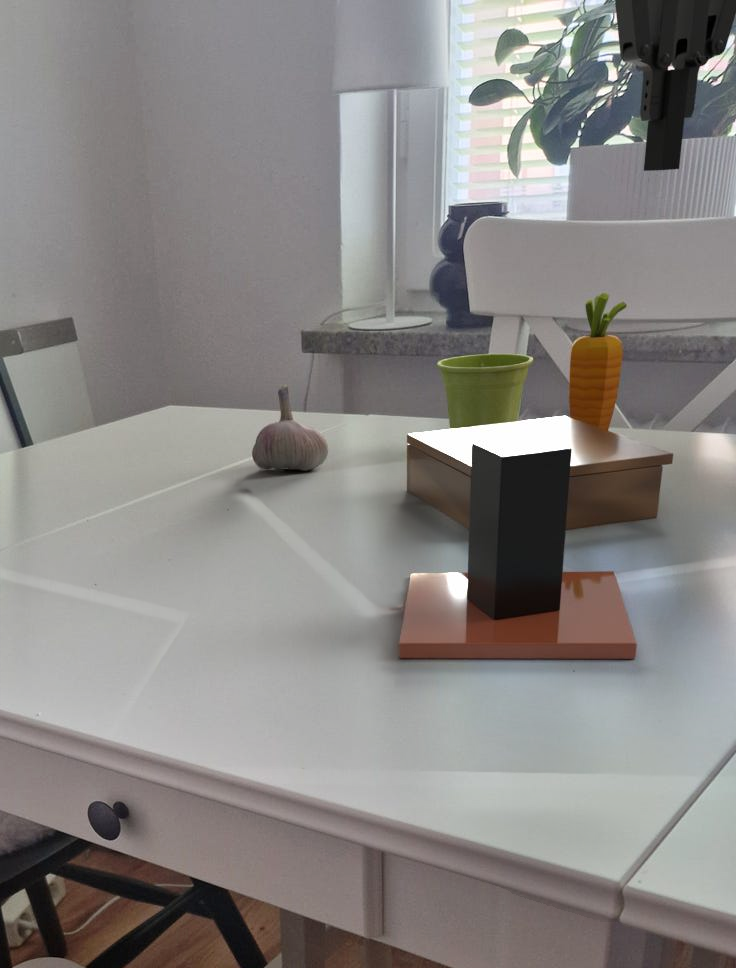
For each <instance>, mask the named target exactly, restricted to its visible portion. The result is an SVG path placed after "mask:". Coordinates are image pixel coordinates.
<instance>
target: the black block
mask: <svg viewBox="0 0 736 968" xmlns="http://www.w3.org/2000/svg"><path fill="white" fill-rule="evenodd" d="M571 452H572V449H571V448H568V447H566V446H563V445H561V444H558V443H556V442H553V441H551V440H548V439H546V438H543V437H541V436H538V435H537V436H529V437H521V438H512V439H504V440H495V441H487V442H479V443H472V455H471V487H470V518H469V529H468V548H467V549H468V550H467V551H468V553H467V557H468V558H467V573H468V581H467V600H469V601H470V602H471V603H473V604H474V605H475V606H477V607H478V608H479V609H481V610H482V611H483V612H485V613H486V614H487V615H489V616H490V617H491V618H493V619H494V620H499V619H506V618H512V617H519V616H526V615H532V614H539V613H546V612H553V611H559V610H560V600H561V587H562V574H563V572H564V561H565V560H564V559H565V558H564V557H565V545H566V534H567V533H566V532H567V530H566V520H567V506H568V493H569V479H570V466H571Z"/></svg>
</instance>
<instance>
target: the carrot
mask: <svg viewBox="0 0 736 968" xmlns="http://www.w3.org/2000/svg"><path fill="white" fill-rule="evenodd" d="M609 298H610V294H608V293H607V292H601V293H600V294H599V295H597V296H596V297H595V298H594V300H593V299H592V298H591V299H589V300H587V301H586V302H585V304H584V305H585V313H586V317H587V321H588V325H589V328H590V334H586V335H582V336H579V337H578V338H576V339H575V340H574V341H573V342H572V344H571V347H570V356H569V373H568V375H569V379H568V402H569V415H570V416H569V417H570V418H573V419H576V420H579V421H581V422H584V423H587V424H590V425H593V426H596V427H599V428H601V429H604V430H607V431H609V430H610V426H611V423H612V419H613V416H614V411H615V406H616V404H617V400H618V399H617V398H618V394H619V388H620V387H619V385H620V381H621V380H620V379H621V371H622V365H623V364H622V362H623V355H624V353H623V352H624V351H623V349H624V348H623V344H622V340H621V339H619V337H618V336H615V335H612V334H606V332H607V330H608V327H609V326H610V324H611V322H612V321H613V319H614V318H615V317H616V316H617V314H619V313H620V312H621V311H623V310H624V309H626V308H627V303H626V302H624V301H621V302H618V304H616V305H614V306H613V307H612V308H611V310H610V311H609V312H604V311H605V309H606V306H607V304H608V301H609Z"/></svg>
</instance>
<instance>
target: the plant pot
mask: <svg viewBox="0 0 736 968" xmlns="http://www.w3.org/2000/svg"><path fill="white" fill-rule="evenodd" d="M533 363H534V357H532V356H531V355H524V354H518V353H483V354H481V353H480V354H470V355H469V354H468V355H462V356H454V357H449V358H445V359H441V360H438V361H437V363H436V368H437V369H439V370H440V374H441V379H442V383H443V384H444V389H445V397H446V404H447V405H446V406H447V415H448V422H449V429H455V428H464V427H473V426H482V425H490V424H499V423H508V422H516V421H518V418H519V411H520V408H521V406H520V405H521V401H522V396H523V389H524V383H525V381H526V379H527V377H528V374H529V373H528V372H529V367H530V366H531V365H532V364H533Z"/></svg>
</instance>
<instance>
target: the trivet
mask: <svg viewBox="0 0 736 968" xmlns="http://www.w3.org/2000/svg"><path fill="white" fill-rule="evenodd" d="M467 581H468V572H414V573H413V572H412V573H410V575H409V581H408V588H407V594H406V599H405V606H404V612H403V617H402V622H401V627H400V634H399V641H398V658H399V659H490V660H491V659H495V660H496V659H497V660H498V659H501V660H502V659H506V660H507V659H512V660H513V659H517V660H520V659H522V660H523V659H526V660H527V659H532V660H533V659H535V660H536V659H538V660H539V659H540V660H541V659H543V660H545V659H546V660H547V659H548V660H549V659H551V660H554V659H555V660H564V659H566V660H568V659H569V660H576V659H577V660H635V659H636V657H637V649H638V643H637V639H636V637H635V634H634V631H633V627H632V624H631V621H630V618H629V615H628V611H627V608H626V605H625V601H624V599H623V595H622V591H621V589H620V586H619V582H618V580H617V576H616V572H615V571H614V570H613V571H612V570H610V571H609V570H608V571H603V570H602V571H598V570H597V571H563V574H562V587H561V600H560V610H559V611H553V612H546V613H539V614H532V615H526V616H519V617H512V618H506V619H499V620H494V619H493V618H491V617H490V616H489V615H487V614H486V613H485V612H483V611H482V610H481V609H479V608H478V607H477V606H475V605H474V604H473V603H471V602H470V601H469V600H467Z"/></svg>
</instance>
